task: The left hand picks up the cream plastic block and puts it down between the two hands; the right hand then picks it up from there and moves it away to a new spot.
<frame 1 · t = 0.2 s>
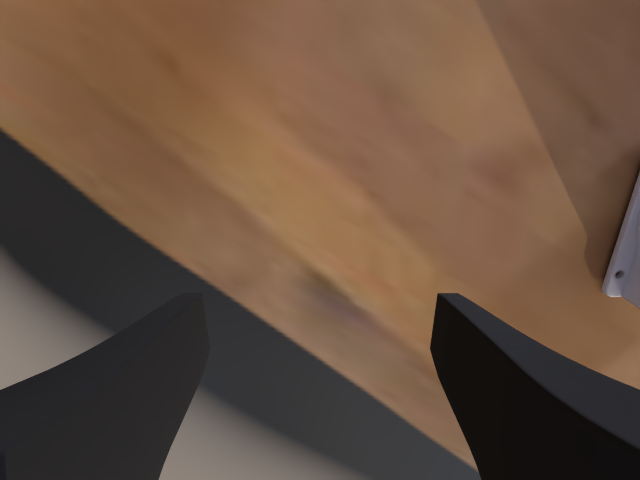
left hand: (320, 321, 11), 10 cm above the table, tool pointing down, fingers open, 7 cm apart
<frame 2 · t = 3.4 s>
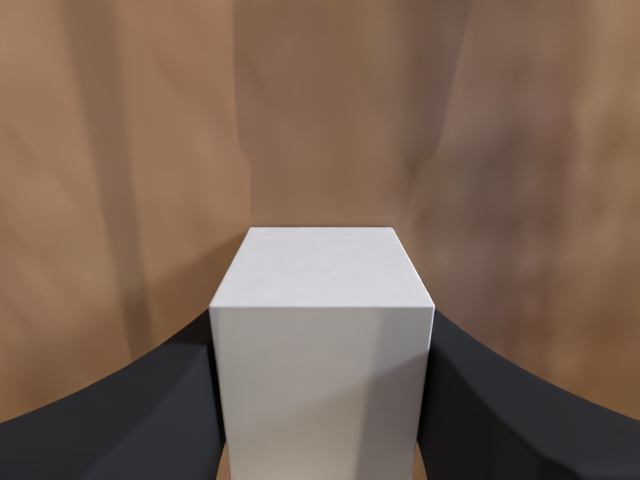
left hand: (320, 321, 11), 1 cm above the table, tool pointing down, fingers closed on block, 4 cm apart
block: (320, 297, 12), on the table, touching left hand
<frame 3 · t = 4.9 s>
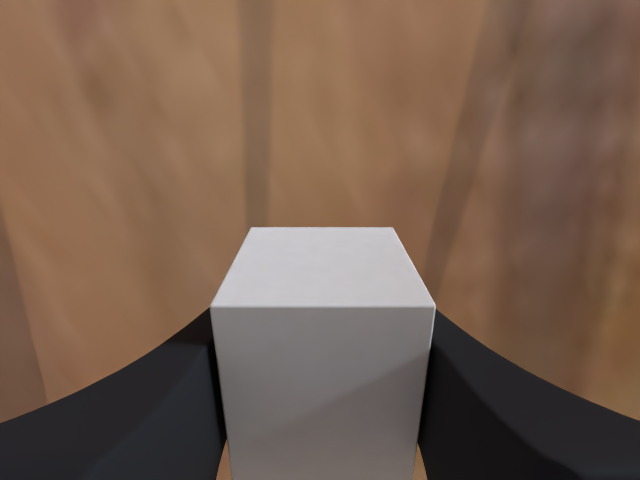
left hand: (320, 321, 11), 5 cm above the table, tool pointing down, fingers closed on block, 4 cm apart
block: (321, 297, 12), point 3 cm above the table, touching left hand
when the left hand's fingers open (2 cm above the table, at t = 6.2 s): block stays where it is, on the table.
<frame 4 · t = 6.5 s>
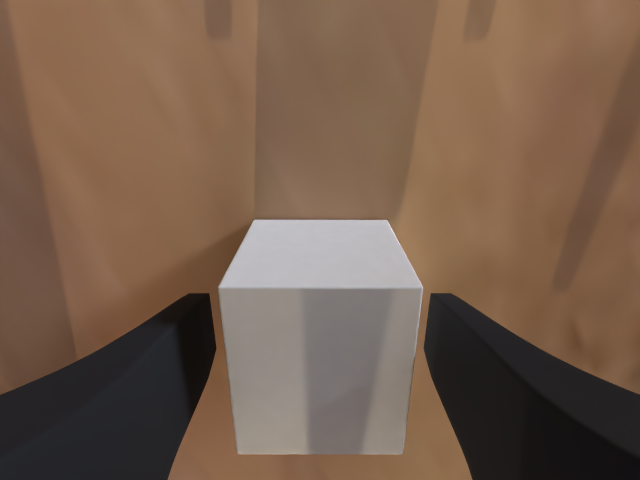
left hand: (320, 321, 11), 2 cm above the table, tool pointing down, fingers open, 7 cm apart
block: (320, 286, 13), on the table
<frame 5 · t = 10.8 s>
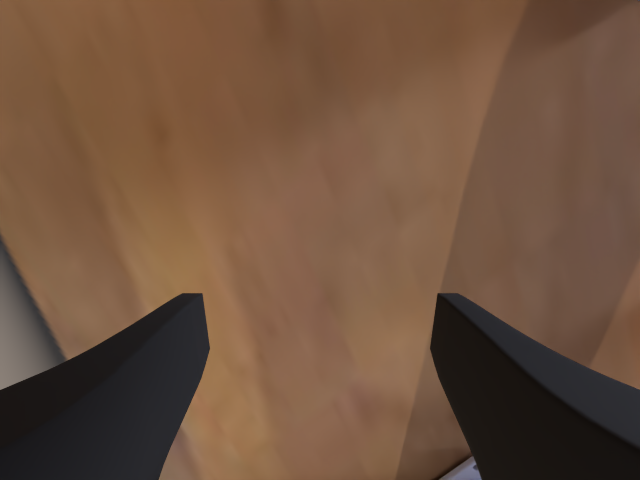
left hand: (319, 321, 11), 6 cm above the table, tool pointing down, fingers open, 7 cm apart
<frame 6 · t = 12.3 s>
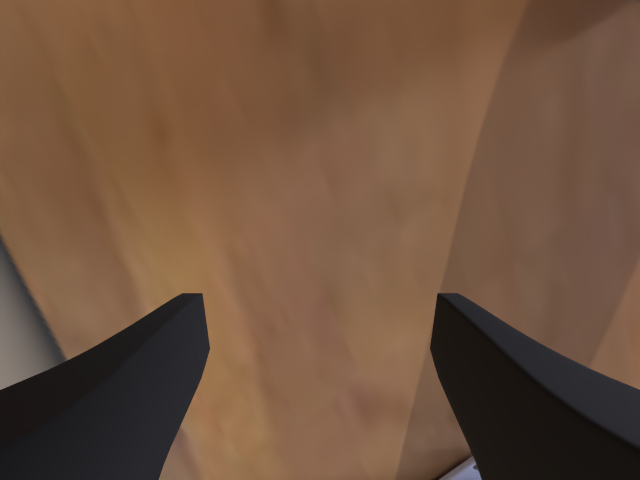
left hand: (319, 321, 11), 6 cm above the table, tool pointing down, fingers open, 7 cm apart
when the right hand's fingers open (2 cm above the table, at t = 13.7 s): block stays where it is, on the table.
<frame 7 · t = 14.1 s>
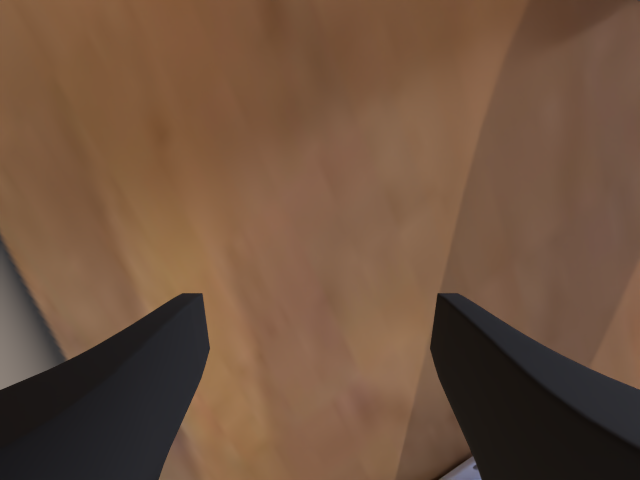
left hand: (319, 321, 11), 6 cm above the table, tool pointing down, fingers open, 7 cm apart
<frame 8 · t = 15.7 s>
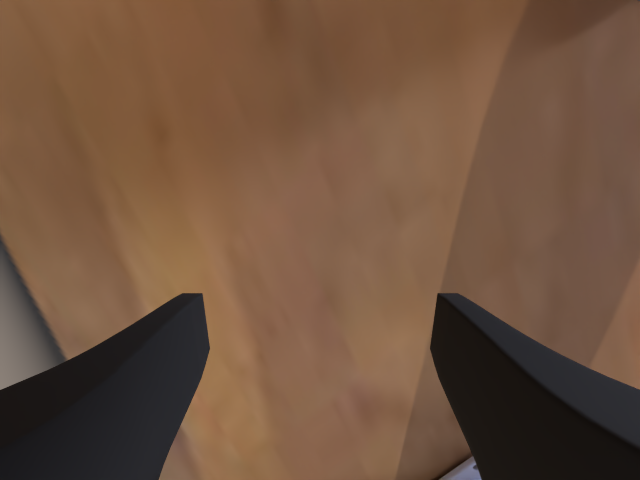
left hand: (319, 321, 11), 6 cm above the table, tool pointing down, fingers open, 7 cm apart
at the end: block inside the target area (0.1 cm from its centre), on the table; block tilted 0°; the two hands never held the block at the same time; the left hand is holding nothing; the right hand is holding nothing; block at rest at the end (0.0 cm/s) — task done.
